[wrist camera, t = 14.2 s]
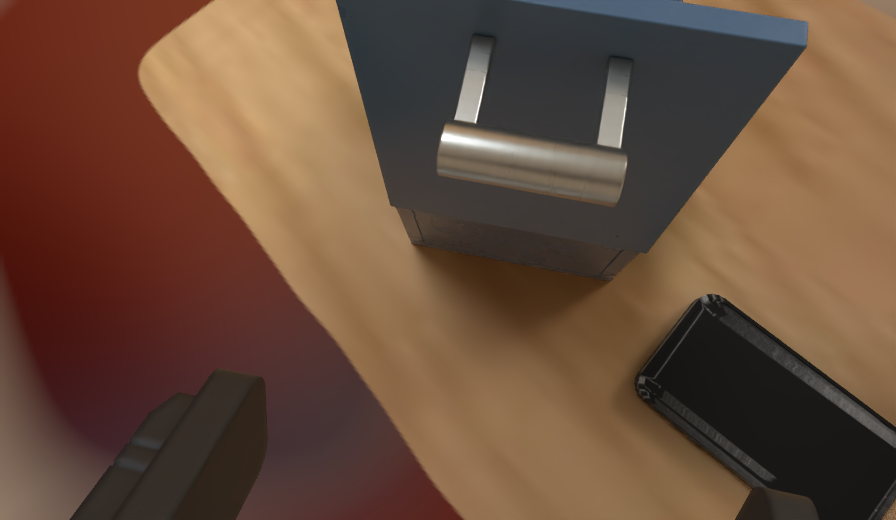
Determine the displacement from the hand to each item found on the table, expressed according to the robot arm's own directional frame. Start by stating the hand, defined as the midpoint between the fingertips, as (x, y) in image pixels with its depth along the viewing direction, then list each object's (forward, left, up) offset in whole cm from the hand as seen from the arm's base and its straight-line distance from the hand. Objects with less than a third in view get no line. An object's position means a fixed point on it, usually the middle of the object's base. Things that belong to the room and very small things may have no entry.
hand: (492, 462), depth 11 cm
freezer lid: (-2, -11, -13) cm, 17 cm away
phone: (-17, -1, -31) cm, 35 cm away
